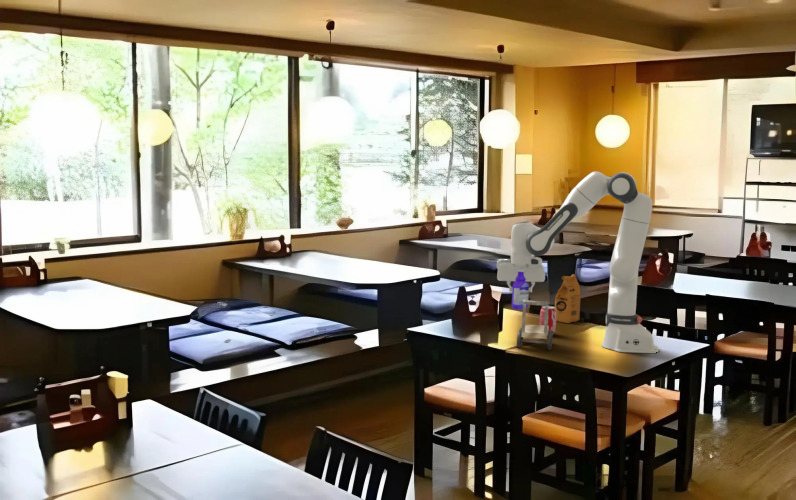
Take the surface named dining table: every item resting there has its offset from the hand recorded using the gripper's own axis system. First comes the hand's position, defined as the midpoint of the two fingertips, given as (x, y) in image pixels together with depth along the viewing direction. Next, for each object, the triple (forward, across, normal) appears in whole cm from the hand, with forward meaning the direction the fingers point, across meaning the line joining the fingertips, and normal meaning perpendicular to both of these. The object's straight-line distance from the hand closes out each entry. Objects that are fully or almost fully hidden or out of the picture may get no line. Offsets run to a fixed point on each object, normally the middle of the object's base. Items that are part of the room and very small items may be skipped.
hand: (520, 291), depth 336 cm
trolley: (+20, +7, -13) cm, 25 cm away
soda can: (+20, +11, +12) cm, 26 cm away
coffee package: (+20, +18, +45) cm, 53 cm away
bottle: (+8, 0, 0) cm, 8 cm away
